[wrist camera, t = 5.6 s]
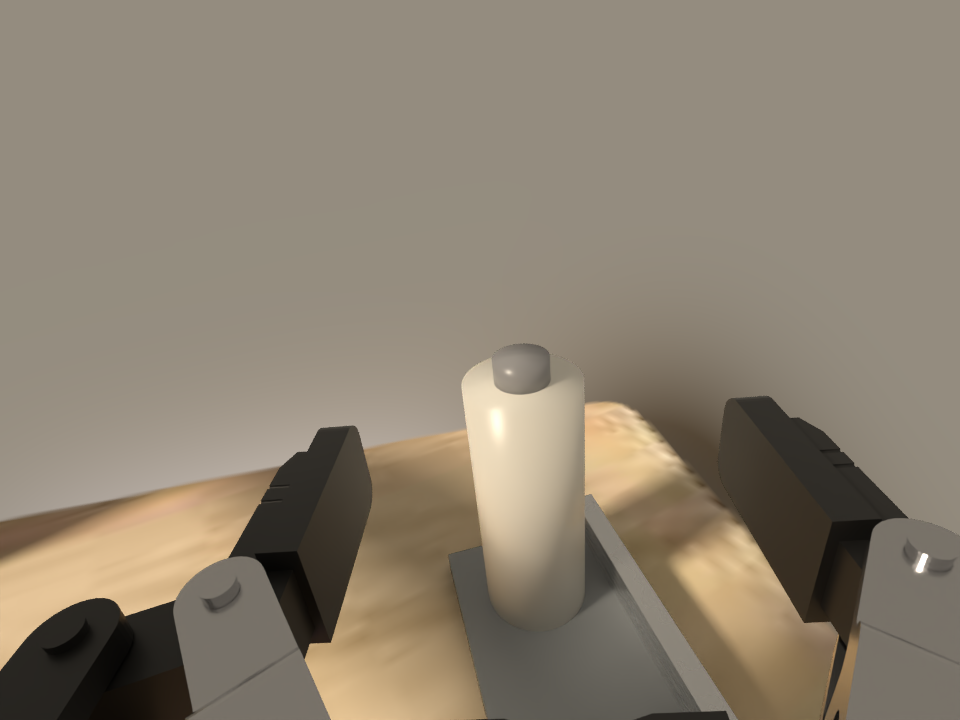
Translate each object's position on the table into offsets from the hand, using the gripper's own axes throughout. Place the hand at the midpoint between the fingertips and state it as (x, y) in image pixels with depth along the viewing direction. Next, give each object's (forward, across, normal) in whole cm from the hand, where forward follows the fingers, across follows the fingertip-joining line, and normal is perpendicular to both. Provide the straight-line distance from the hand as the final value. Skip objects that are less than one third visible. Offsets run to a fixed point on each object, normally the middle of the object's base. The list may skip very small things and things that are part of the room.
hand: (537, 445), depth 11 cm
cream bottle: (+11, 0, +19) cm, 22 cm away
